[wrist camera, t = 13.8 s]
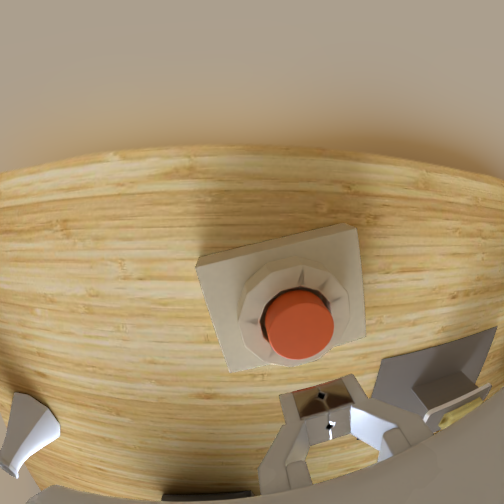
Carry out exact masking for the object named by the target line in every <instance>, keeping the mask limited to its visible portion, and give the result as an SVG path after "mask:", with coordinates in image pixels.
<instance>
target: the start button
mask: <svg viewBox="0 0 504 504" xmlns="http://www.w3.org/2000/svg"><path fill="white" fill-rule="evenodd" d="M265 326H266V330H267V335H268V339H269V342H270V345H271V347H272V348H273V350H274V351H275V352H276V353H277V354H279V355H280V356H282V357H284V358H287V359H292V360H301V359H306V358H309V357H312V356H314V355H316V354H318V353H319V352H321V351H322V350H323V349H324V348H325V347H326V346H327V345H328V343H329V342H330V340H331V338H332V336H333V332H334V320H333V317H332V315H331V313H330V312H329V310H328V309H327V308H326V306H325V305H324V303H323V302H322V301H321V299H320V298H319V297H318V296H316V295H315V294H313V293H311V292H309V291H304V290H294V291H289V292H286V293H284V294H282V295H281V296H279V297H278V298H276V299H275V300H274V301H273V302H272V304H271V305H270V306H269V308H268V310H267V312H266V316H265Z"/></svg>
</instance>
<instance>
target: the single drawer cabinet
mask: <svg viewBox="0 0 504 504" xmlns="http://www.w3.org/2000/svg"><path fill="white" fill-rule="evenodd" d="M240 493H245V494H246V496H247V497H254V494H253V493H252V491H251V490H250V491H242V492H233V493H221V494H204V495H163V496H178V497H190V496H217V495H229V494H240Z"/></svg>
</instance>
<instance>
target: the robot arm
mask: <svg viewBox="0 0 504 504" xmlns="http://www.w3.org/2000/svg"><path fill="white" fill-rule="evenodd" d="M279 399H280V403H281V407H282V411H283V415H284V419H285V423H286V425H282V427H281V428H280V430H279V432H278V434H277V436H276V438H275V439H274V441H273V443H272V445H271V446H270V448H269V450H268V452H267V453H266V455H265V457H264V458H263V460H262V462H261V463H260V465H259V467H258V468H257V470H258V478H259V486H260V494H261V496H254V497H247V498H238V499H229V500H216V501H194V502H171V501H149V500H137V499H128V498H120V497H112V496H106V495H100V494H95V493H90V492H85V491H80V490H76V489H72V488H68V487H64V486H60V485H52V486H50V487H48V488H46V489H44V490H43V491H41V492H40V493H38V494H36V495H35V496H33V497H32V498H30V499H29V500H28V501H27V502H26V504H504V387H503V388H501V389H500V390H499V391H498V392H496V393H495V394H494V395H493V396H491V397H490V398H489V399H487V400H486V401H485V402H483V403H482V404H481V405H479V406H478V407H477V408H475V409H474V410H472V411H471V412H470V413H468V414H467V415H465V416H464V417H462V418H461V419H459V420H458V421H456V422H455V423H453V424H451V425H450V426H448V427H446V428H445V429H443V430H442V431H440V432H438V433H436V434H435V435H434V434H433V433H432V431H431V430H430V429H429V427H428V426H427V424H426V423H425V422H424V420H423V419H422V418H421V416H420V415H418V414H415V413H412V412H410V411H407V410H404V409H401V408H398V407H396V406H393V405H390V404H388V403H385V402H382V401H380V400H377V399H375V398H369V399H368V397H367V396H366V394H365V392H364V391H363V389H362V388H361V386H360V384H359V383H358V381H357V380H356V378H355V376H354V375H353V374H349V375H347V376H344V377H341V378H338V379H335V380H332V381H329V382H326V383H323V384H319V385H316V386H313V387H309V388H305V389H301V390H297V391H293V392H290V393H286V394H281V395H279ZM350 433H351V434H352V435H354V436H355V437H357V438H358V439H360V440H362V441H363V442H365V443H367V444H369V445H370V446H372V447H374V448H375V449H377V450H379V451H380V452H379V457H378V461H377V463H375V464H373V465H370V466H368V467H365V468H362V469H360V470H357V471H354V472H352V473H349V474H346V475H343V476H340V477H337V478H333V479H330V480H327V481H324V482H320V483H316V484H312V481H311V477H310V474H309V471H308V468H307V464H306V462H305V459H306V456H307V454H308V451H309V448H310V446H312V445H315V444H318V443H321V442H324V441H327V440H330V439H334V438H337V437H340V436H344V435H347V434H350Z"/></svg>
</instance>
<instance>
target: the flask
mask: <svg viewBox="0 0 504 504" xmlns="http://www.w3.org/2000/svg"><path fill="white" fill-rule="evenodd" d="M59 436H60V424H59V423H58V422H57V420H56V419H55V417H54V416H53V415H52V413H51V412H50V410H49V409H48V408H47V407H46V406H44V405H43V404H41V403H40V402H38V401H37V400H35V399H34V398H32V397H31V396H29V395H27V394H21V393H16V392H15V393H14V397H13V401H12V406H11V412H10V417H9V422H8V427H7V433H6V437H5V440H4V443H3V446H2V448H1V450H0V467H1V468H2V469H3V470H4V471H6V472H7V473H9V474H10V475H11V476H13V477H16V478H18V470H19V468H20V467H21V465H22V464H23V463H24V462H25V461H26V460H27V458H28V457H29V456H31V455H32V454H34V453H35V452H37V451H38V450H39V449H41V448H42V447H44V446H45V445H47V444H49V443H50V442H52V441H53V440H55V439H56V438H58V437H59Z"/></svg>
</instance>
